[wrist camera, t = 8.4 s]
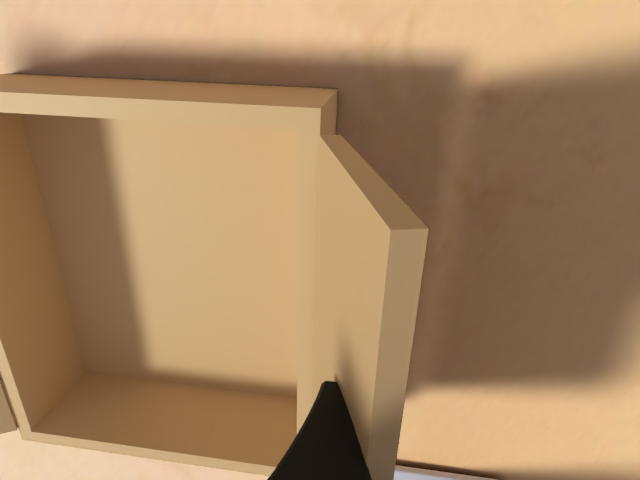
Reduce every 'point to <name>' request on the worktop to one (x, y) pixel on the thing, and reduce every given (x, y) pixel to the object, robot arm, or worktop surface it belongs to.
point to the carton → (160, 264)
